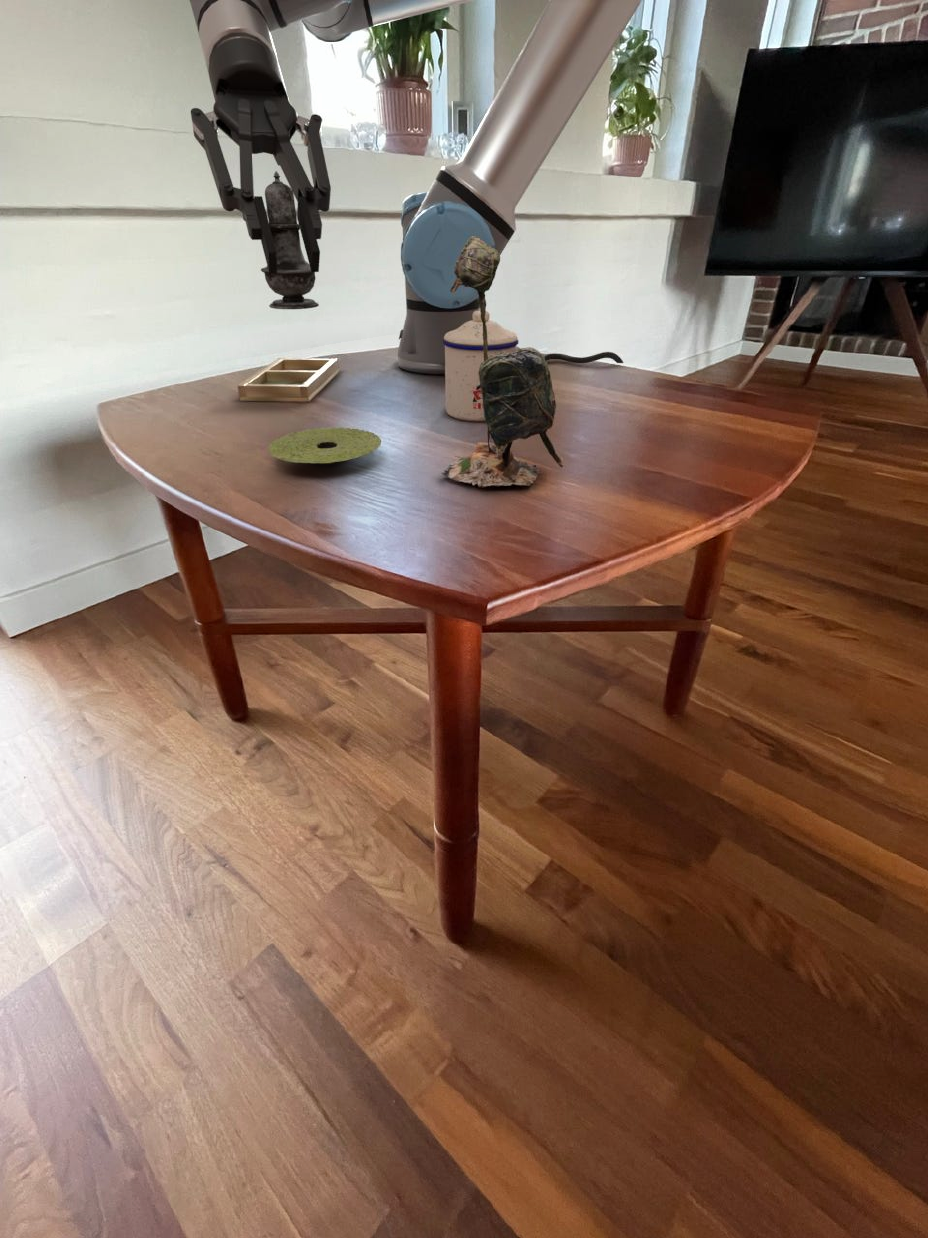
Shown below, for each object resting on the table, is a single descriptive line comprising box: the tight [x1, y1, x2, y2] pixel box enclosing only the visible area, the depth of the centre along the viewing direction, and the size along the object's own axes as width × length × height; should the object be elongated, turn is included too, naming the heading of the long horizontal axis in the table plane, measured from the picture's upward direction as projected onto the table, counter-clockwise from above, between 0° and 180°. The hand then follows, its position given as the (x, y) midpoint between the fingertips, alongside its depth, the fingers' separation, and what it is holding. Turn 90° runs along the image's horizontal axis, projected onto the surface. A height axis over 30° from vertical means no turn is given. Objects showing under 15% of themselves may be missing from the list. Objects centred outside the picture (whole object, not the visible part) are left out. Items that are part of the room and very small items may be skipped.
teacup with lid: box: [443, 310, 521, 422], centre depth 76 cm, size 12×9×12 cm
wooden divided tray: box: [237, 357, 340, 403], centre depth 90 cm, size 10×18×2 cm, turn 177°
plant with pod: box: [441, 236, 565, 488], centre depth 54 cm, size 8×11×20 cm
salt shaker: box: [260, 170, 320, 310], centre depth 64 cm, size 6×6×12 cm
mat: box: [268, 427, 382, 465], centre depth 63 cm, size 11×11×2 cm
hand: (294, 262), depth 62 cm, fingers closed on salt shaker, 4 cm apart
